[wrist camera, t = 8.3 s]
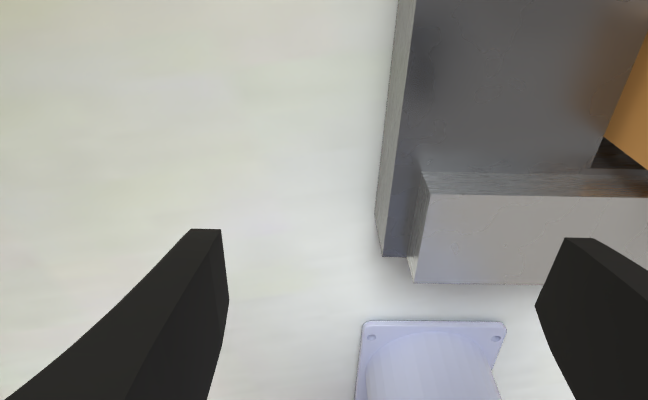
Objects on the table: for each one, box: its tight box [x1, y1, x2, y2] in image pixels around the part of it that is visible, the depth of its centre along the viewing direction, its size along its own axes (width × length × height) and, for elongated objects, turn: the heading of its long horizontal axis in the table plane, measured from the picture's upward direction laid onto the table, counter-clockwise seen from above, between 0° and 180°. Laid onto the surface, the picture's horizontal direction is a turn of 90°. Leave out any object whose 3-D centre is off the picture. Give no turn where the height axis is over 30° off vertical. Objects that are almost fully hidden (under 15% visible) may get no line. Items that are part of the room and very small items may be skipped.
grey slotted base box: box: [374, 0, 648, 285], centre depth 14 cm, size 16×14×4 cm
